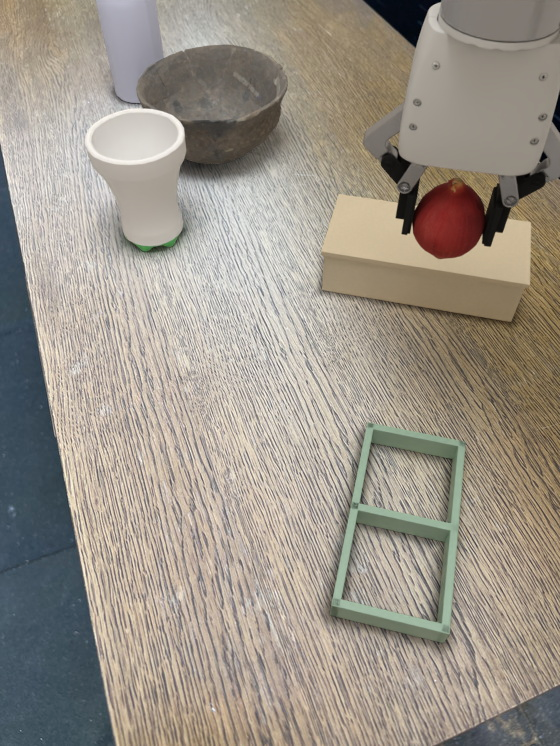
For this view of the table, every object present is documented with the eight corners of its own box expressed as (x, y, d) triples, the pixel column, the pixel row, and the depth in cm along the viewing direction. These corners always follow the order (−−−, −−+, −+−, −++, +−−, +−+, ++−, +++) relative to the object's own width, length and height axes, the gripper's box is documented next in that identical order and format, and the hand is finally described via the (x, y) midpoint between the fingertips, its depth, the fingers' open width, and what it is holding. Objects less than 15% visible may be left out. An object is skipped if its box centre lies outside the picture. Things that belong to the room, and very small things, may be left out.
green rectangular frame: (460, 454, 63) (466, 441, 61) (443, 643, 52) (449, 634, 50) (364, 435, 65) (367, 421, 63) (329, 615, 54) (331, 605, 52)
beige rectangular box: (515, 262, 80) (531, 221, 75) (513, 324, 74) (530, 284, 69) (335, 234, 83) (338, 193, 78) (318, 291, 77) (321, 251, 72)
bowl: (197, 95, 104) (190, 31, 97) (311, 128, 98) (314, 63, 90) (118, 162, 93) (103, 96, 85) (242, 204, 87) (238, 137, 79)
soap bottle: (124, 73, 109) (90, -95, 90) (176, 80, 107) (153, -89, 88) (102, 99, 104) (61, -73, 85) (156, 107, 102) (127, -66, 83)
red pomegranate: (435, 225, 59) (453, 146, 53) (487, 256, 56) (513, 178, 50) (392, 255, 56) (406, 176, 50) (445, 289, 54) (466, 211, 47)
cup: (147, 276, 79) (125, 176, 68) (93, 235, 84) (63, 135, 72) (216, 232, 84) (205, 132, 73) (160, 195, 88) (142, 96, 77)
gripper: (644, -14, 41) (551, 216, 55) (372, -37, 43) (351, 189, 58) (659, 41, 36) (554, 276, 51) (355, 12, 39) (336, 244, 53)
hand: (446, 228), depth 54 cm, fingers closed on red pomegranate, 5 cm apart
